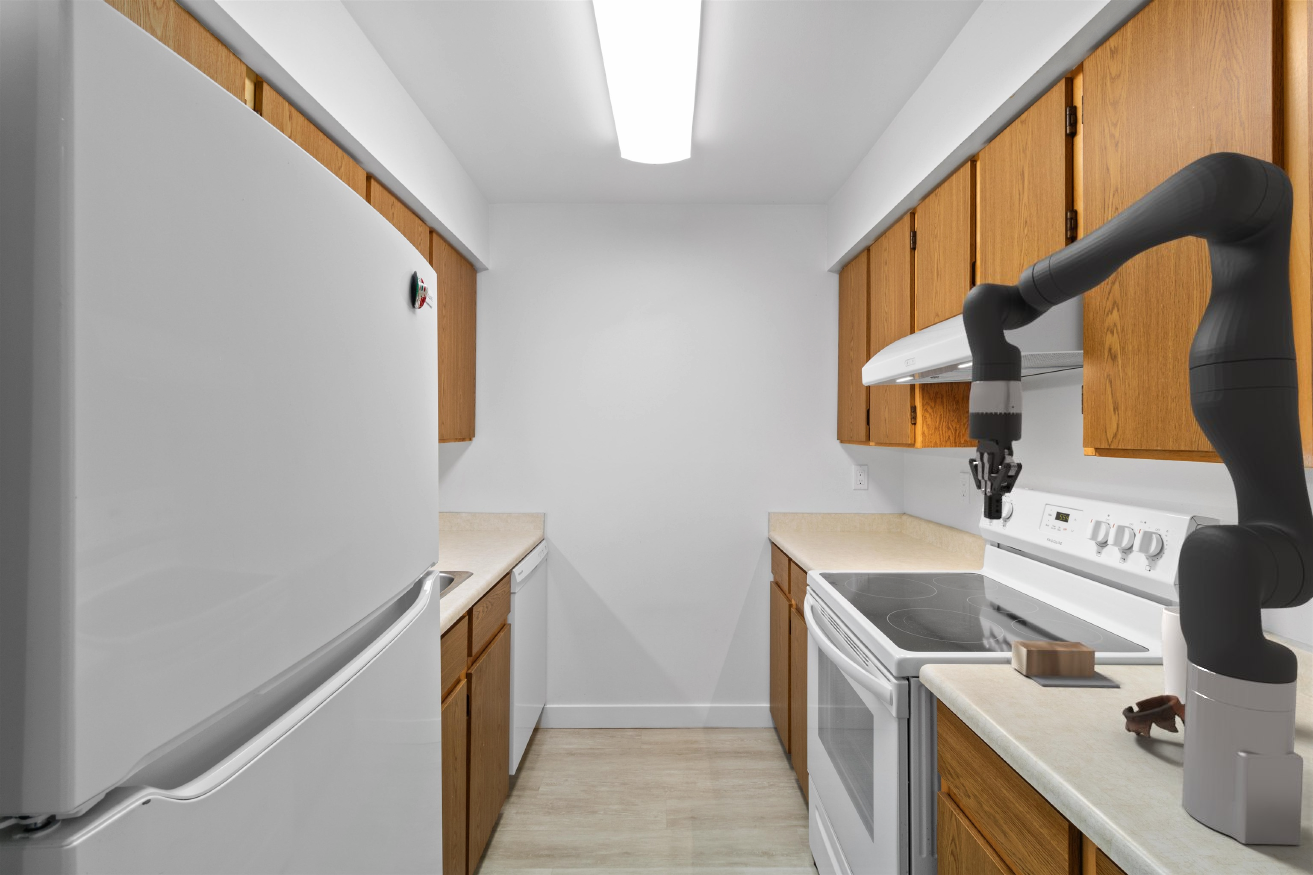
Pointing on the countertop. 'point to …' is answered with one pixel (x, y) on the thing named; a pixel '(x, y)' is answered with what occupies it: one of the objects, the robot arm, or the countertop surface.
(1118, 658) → the countertop surface
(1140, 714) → the brown jagged ring
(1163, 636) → the drinking glass
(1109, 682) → the mat
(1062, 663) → the plain brown block
